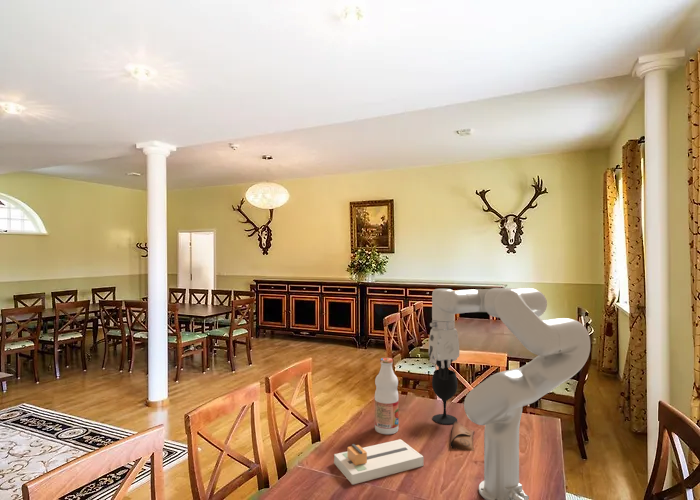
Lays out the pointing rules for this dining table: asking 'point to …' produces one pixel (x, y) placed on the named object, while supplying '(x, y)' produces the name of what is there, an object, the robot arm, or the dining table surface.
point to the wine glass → (444, 395)
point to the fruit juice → (386, 399)
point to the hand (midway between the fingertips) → (443, 378)
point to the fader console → (380, 461)
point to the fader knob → (357, 454)
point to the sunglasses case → (461, 437)
